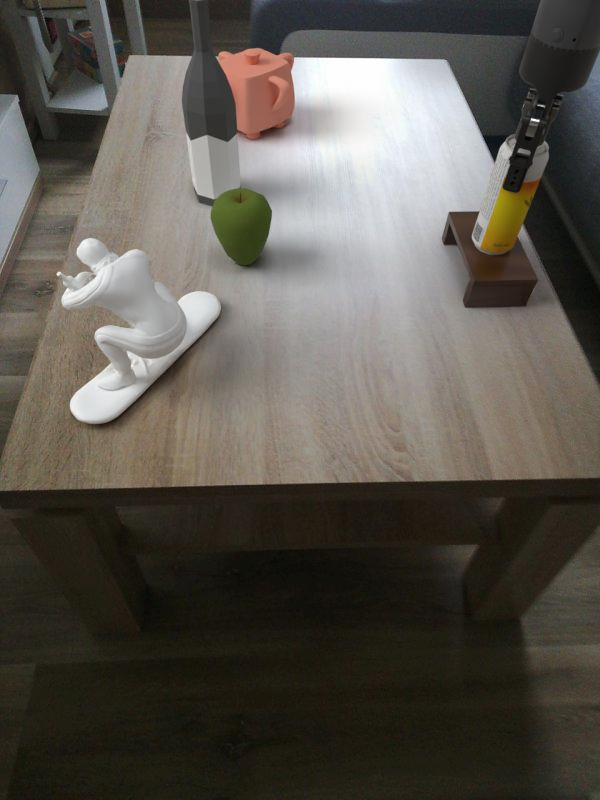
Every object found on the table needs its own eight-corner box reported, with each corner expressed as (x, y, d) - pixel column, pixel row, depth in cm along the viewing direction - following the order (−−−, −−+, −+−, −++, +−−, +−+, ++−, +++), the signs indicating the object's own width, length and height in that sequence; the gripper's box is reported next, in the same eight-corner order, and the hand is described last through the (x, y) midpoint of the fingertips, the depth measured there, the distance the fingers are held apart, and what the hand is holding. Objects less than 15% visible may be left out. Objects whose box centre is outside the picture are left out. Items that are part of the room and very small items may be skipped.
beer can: (521, 252, 80) (562, 152, 68) (485, 261, 79) (521, 160, 67) (497, 228, 84) (532, 128, 72) (462, 236, 82) (492, 136, 70)
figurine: (173, 283, 82) (152, 177, 68) (245, 317, 78) (237, 211, 64) (38, 400, 68) (-21, 297, 55) (117, 448, 64) (74, 349, 51)
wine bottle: (243, 181, 98) (231, -25, 74) (239, 208, 93) (224, -4, 70) (197, 179, 98) (170, -28, 74) (190, 206, 93) (159, -6, 70)
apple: (272, 242, 88) (271, 174, 79) (272, 278, 83) (271, 210, 74) (217, 242, 88) (209, 174, 79) (214, 277, 83) (205, 209, 74)
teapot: (293, 106, 116) (294, 34, 105) (295, 145, 106) (296, 71, 96) (212, 105, 115) (205, 33, 105) (206, 144, 105) (198, 69, 95)
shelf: (525, 306, 81) (538, 279, 77) (465, 307, 80) (474, 280, 76) (495, 237, 90) (505, 210, 86) (441, 238, 90) (448, 211, 86)
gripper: (596, 64, 55) (534, 214, 68) (611, 16, 63) (553, 158, 76) (520, 49, 56) (474, 198, 70) (544, 4, 65) (499, 145, 78)
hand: (516, 176), depth 73 cm, fingers closed on beer can, 6 cm apart
